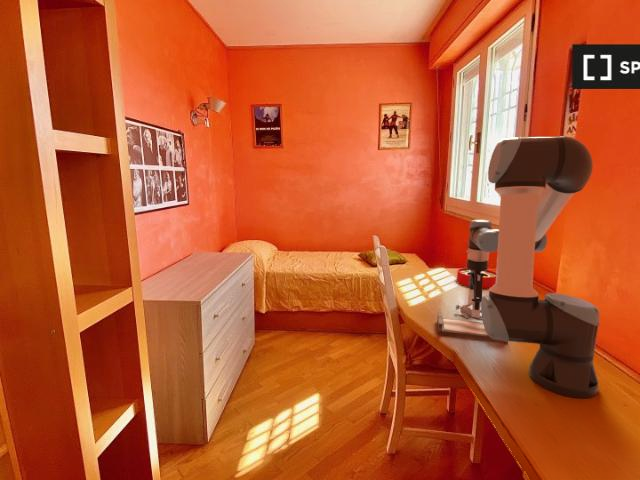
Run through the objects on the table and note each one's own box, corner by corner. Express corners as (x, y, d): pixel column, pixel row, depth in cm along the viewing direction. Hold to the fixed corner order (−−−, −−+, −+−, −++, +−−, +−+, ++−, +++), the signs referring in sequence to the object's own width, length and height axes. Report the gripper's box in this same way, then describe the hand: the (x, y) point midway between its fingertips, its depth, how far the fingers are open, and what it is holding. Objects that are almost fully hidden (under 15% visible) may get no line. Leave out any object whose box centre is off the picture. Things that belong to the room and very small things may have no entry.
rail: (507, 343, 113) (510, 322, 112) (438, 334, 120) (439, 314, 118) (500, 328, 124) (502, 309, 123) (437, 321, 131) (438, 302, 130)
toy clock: (507, 274, 176) (480, 279, 167) (506, 285, 177) (479, 290, 168) (475, 266, 193) (449, 270, 185) (474, 276, 194) (448, 280, 186)
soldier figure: (485, 325, 129) (454, 310, 134) (482, 329, 134) (451, 315, 138) (492, 308, 132) (461, 294, 137) (488, 312, 136) (459, 299, 141)
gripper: (464, 252, 146) (460, 299, 150) (471, 266, 122) (466, 321, 126) (483, 253, 144) (479, 300, 148) (494, 268, 120) (488, 324, 124)
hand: (473, 310), depth 137 cm, fingers open, 13 cm apart
